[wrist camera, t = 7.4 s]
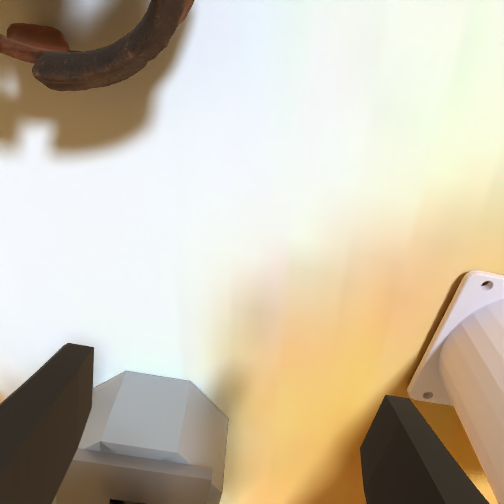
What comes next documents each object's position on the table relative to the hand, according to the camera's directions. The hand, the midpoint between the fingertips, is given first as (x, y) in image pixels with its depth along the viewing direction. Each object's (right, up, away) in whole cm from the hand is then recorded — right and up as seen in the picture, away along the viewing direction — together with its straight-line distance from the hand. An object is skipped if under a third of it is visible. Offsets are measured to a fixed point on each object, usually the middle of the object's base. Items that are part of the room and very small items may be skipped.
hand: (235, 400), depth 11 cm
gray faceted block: (-5, -7, +15) cm, 17 cm away
